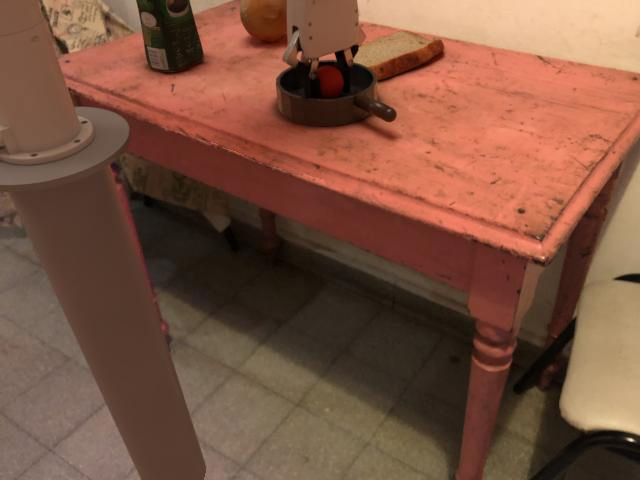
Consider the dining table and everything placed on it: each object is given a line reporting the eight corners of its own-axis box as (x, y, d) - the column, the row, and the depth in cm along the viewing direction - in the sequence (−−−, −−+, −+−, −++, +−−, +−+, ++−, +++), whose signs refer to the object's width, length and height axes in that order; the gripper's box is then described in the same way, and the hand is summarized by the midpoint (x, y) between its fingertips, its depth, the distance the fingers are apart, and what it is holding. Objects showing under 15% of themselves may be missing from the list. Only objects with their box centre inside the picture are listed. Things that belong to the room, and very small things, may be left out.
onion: (232, 42, 113) (224, -14, 107) (269, 28, 119) (263, -26, 113) (267, 53, 108) (261, -5, 102) (304, 38, 114) (300, -18, 108)
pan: (318, 136, 83) (316, 110, 81) (259, 102, 92) (256, 77, 90) (397, 105, 90) (398, 80, 88) (335, 76, 100) (334, 52, 97)
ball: (325, 108, 88) (323, 76, 85) (305, 98, 91) (303, 66, 88) (351, 98, 91) (350, 66, 87) (330, 88, 94) (329, 57, 90)
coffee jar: (180, 51, 110) (158, -61, 98) (211, 59, 106) (192, -55, 94) (140, 68, 104) (110, -48, 92) (171, 77, 100) (144, -42, 88)
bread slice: (344, 85, 97) (343, 62, 94) (344, 45, 110) (343, 25, 108) (454, 82, 97) (456, 60, 94) (440, 43, 110) (441, 23, 108)
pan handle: (388, 126, 80) (389, 112, 79) (351, 107, 85) (351, 93, 84) (399, 121, 81) (400, 108, 80) (361, 103, 86) (361, 90, 85)
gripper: (352, -49, 85) (354, 73, 97) (252, -27, 77) (268, 104, 89) (387, -40, 81) (385, 87, 92) (285, -15, 73) (297, 121, 84)
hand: (328, 94), depth 90 cm, fingers closed on ball, 4 cm apart
